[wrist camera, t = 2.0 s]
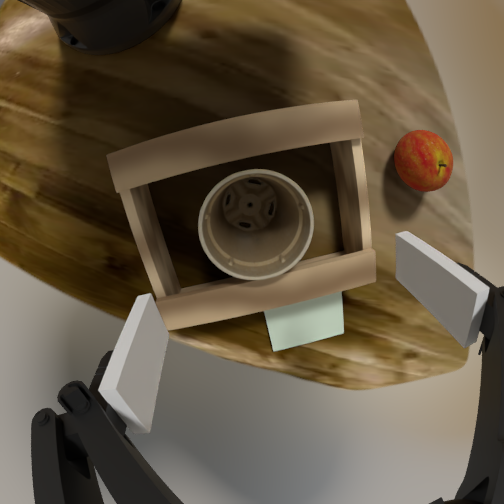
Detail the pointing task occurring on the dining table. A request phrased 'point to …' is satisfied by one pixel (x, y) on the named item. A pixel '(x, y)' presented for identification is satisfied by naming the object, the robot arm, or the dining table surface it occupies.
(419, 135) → the fruit
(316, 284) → the crate
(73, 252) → the dining table surface
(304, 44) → the dining table surface
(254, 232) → the flower pot
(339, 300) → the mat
